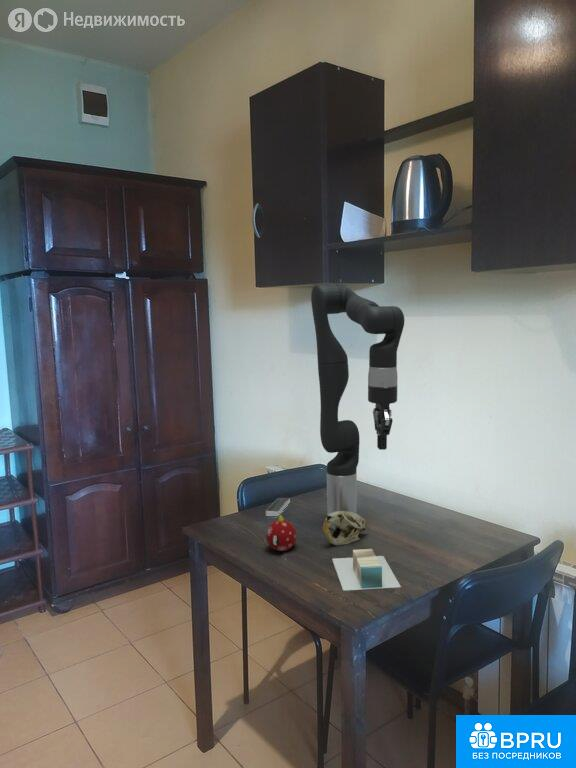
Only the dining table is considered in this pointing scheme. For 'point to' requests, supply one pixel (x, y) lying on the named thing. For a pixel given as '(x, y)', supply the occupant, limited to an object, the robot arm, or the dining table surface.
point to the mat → (350, 579)
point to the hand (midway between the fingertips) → (381, 448)
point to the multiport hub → (277, 507)
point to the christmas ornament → (281, 535)
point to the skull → (344, 527)
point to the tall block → (367, 568)
